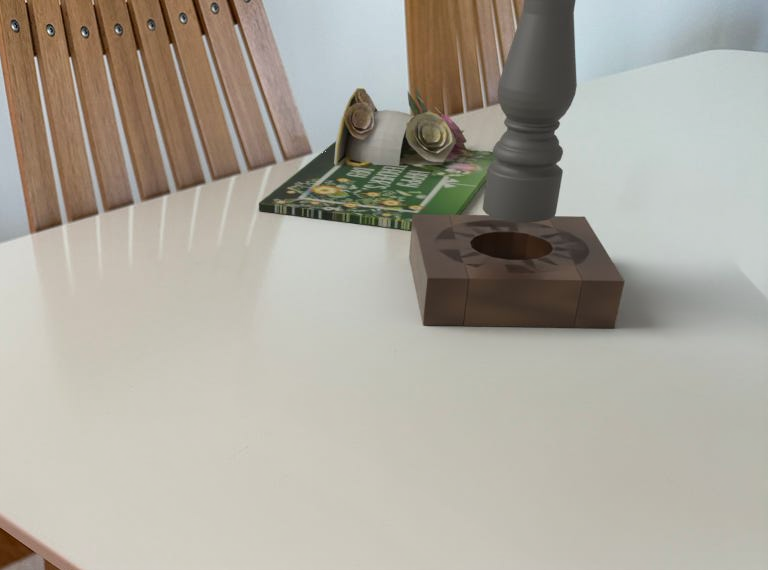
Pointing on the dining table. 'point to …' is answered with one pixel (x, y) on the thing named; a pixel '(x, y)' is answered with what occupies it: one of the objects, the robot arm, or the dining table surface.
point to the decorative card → (385, 169)
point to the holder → (512, 272)
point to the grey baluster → (533, 114)
